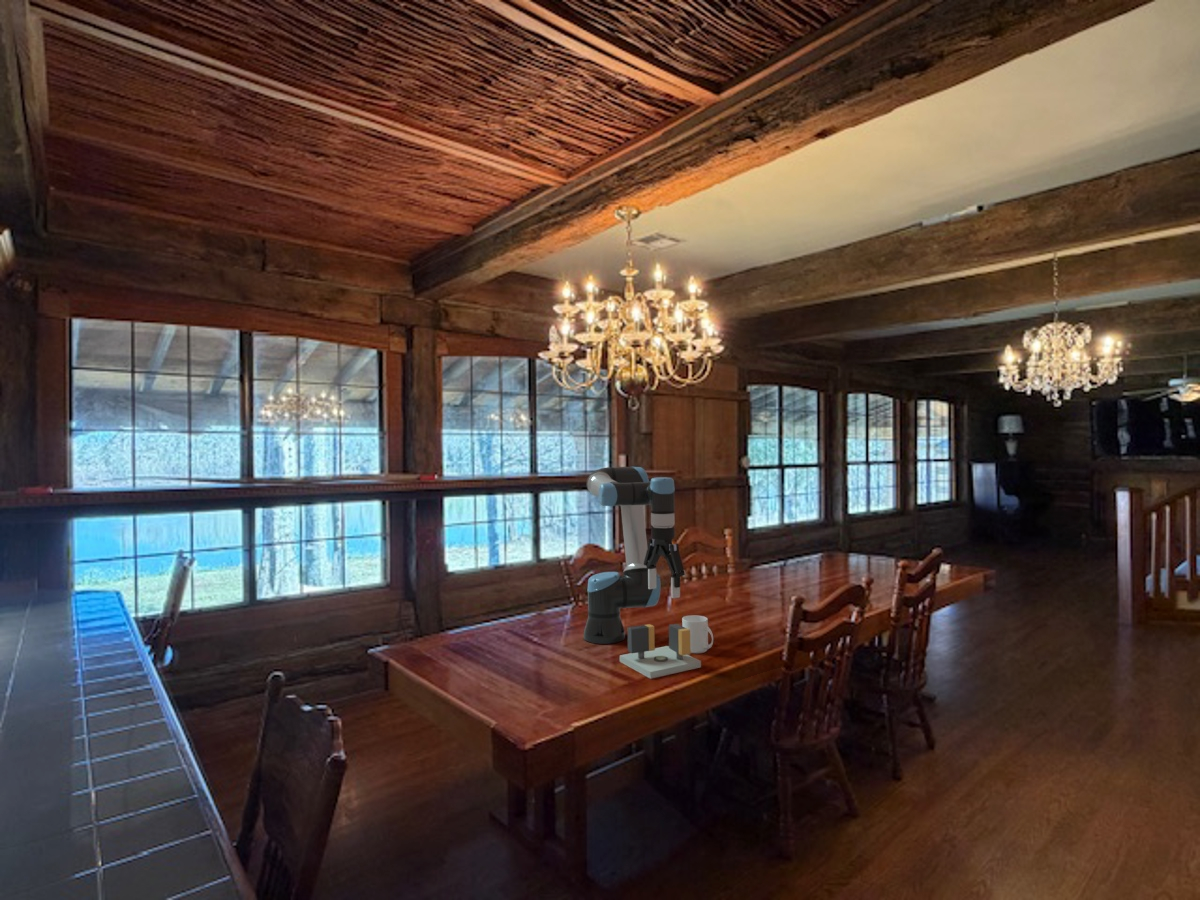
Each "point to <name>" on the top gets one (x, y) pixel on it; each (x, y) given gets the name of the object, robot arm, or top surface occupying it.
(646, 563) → the robot arm
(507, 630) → the top surface
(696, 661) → the base plate
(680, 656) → the knob
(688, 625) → the mug
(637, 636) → the knob
